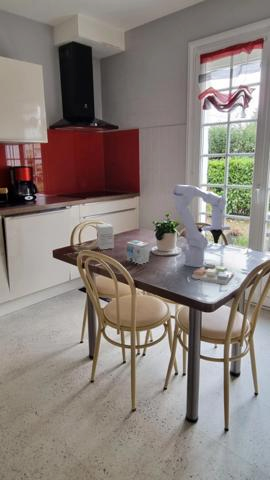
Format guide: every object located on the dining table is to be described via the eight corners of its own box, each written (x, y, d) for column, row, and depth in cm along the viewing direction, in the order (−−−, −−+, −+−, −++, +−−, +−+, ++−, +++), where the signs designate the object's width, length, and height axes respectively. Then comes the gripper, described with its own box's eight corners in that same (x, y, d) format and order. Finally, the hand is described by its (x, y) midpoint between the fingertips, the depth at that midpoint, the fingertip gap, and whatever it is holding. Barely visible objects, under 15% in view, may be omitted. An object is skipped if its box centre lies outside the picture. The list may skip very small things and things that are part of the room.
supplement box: (97, 247, 208) (96, 224, 205) (110, 245, 211) (109, 223, 207) (99, 251, 200) (98, 227, 196) (114, 249, 203) (113, 225, 199)
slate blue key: (217, 278, 149) (217, 275, 149) (219, 275, 153) (219, 272, 152) (226, 280, 147) (226, 276, 147) (228, 277, 151) (228, 274, 150)
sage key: (215, 271, 155) (215, 268, 155) (217, 268, 159) (218, 265, 158) (223, 272, 153) (223, 269, 153) (226, 269, 157) (226, 266, 156)
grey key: (204, 269, 158) (204, 266, 158) (206, 266, 161) (207, 263, 161) (212, 270, 156) (212, 267, 156) (214, 268, 160) (215, 265, 159)
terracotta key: (194, 274, 155) (194, 271, 154) (197, 271, 158) (197, 268, 158) (202, 275, 153) (202, 272, 152) (205, 273, 156) (205, 270, 156)
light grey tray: (192, 278, 154) (192, 275, 154) (201, 269, 165) (201, 267, 165) (226, 284, 146) (226, 281, 146) (233, 275, 157) (233, 272, 157)
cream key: (205, 274, 152) (205, 271, 151) (208, 271, 155) (208, 268, 155) (214, 275, 150) (214, 272, 149) (216, 272, 153) (216, 269, 153)
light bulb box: (126, 261, 181) (126, 242, 178) (135, 258, 185) (135, 239, 183) (140, 265, 173) (140, 245, 171) (149, 262, 178) (149, 243, 175)
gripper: (206, 220, 170) (204, 245, 174) (233, 219, 172) (231, 244, 175) (202, 217, 177) (201, 242, 181) (228, 217, 178) (226, 241, 182)
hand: (215, 243), depth 178 cm, fingers closed
